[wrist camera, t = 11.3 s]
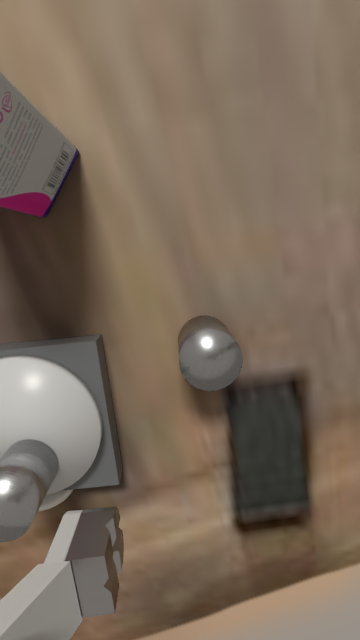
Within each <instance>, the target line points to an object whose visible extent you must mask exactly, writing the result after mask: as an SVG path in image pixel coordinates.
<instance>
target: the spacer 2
mask: <svg viewBox="0 0 360 640" xmlns="http://www.w3.org/2000/svg"><path fill="white" fill-rule="evenodd" d="M178 348H179V365H180V370H181V373H182V375H183V377H184V378H185V379H186V381H187V382H188V383H190V384H191V385H192V386H194V387H196V388H198V389H201V390H205V391H215V390H219V389H222V388H225V387H227V386H228V385H230V384H231V383H232V382H233V381H234V380H235V379H236V378H237V376H238V375H239V373H240V371H241V368H242V363H243V357H242V352H241V349H240V347H239V345H238V344H237V342H236V341H235V339H234V338H233V336H232V335H231V334H230V332H229V331H228V329H227V328H226V326H225V325H224V324H223V323H222V322H221V321H220V320H218V319H216V318H214V317H211V316H198V317H195V318H193V319H191V320H189V321H188V322H187V323H186V324H185V325H184V326H183V327H182V329H181V331H180V333H179V337H178Z"/></svg>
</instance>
